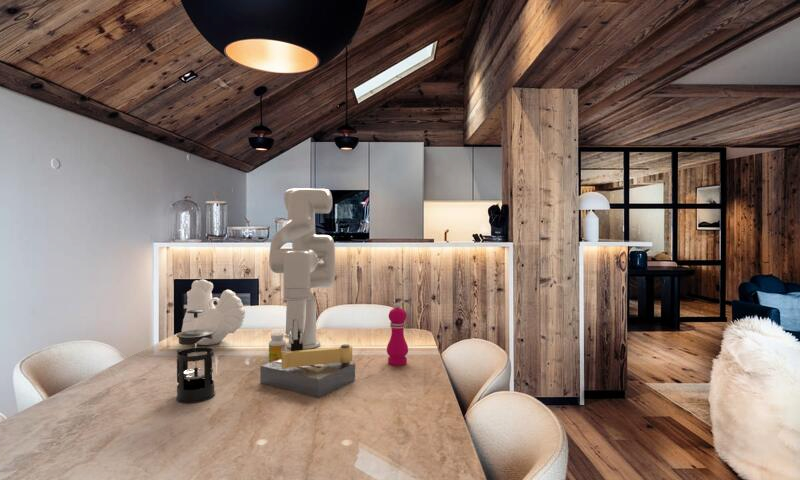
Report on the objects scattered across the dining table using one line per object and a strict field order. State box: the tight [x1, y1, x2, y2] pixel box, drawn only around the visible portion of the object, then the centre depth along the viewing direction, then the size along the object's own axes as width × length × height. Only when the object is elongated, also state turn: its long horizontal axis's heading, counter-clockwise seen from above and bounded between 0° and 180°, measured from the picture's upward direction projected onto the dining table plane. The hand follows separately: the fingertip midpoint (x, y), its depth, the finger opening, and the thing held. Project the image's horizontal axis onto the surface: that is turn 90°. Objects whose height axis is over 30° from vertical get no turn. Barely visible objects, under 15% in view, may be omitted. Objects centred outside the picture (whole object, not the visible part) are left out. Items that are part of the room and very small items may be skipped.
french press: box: [175, 309, 216, 404], centre depth 115 cm, size 12×9×23 cm
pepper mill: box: [386, 302, 409, 367], centre depth 145 cm, size 7×7×20 cm
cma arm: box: [282, 343, 353, 369], centre depth 124 cm, size 20×4×5 cm, turn 110°
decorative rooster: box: [181, 278, 246, 346], centre depth 167 cm, size 25×16×25 cm, turn 65°
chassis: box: [259, 359, 356, 399], centre depth 127 cm, size 22×16×5 cm
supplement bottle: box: [268, 332, 287, 363], centre depth 144 cm, size 5×5×10 cm
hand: (296, 356), depth 125 cm, fingers closed
